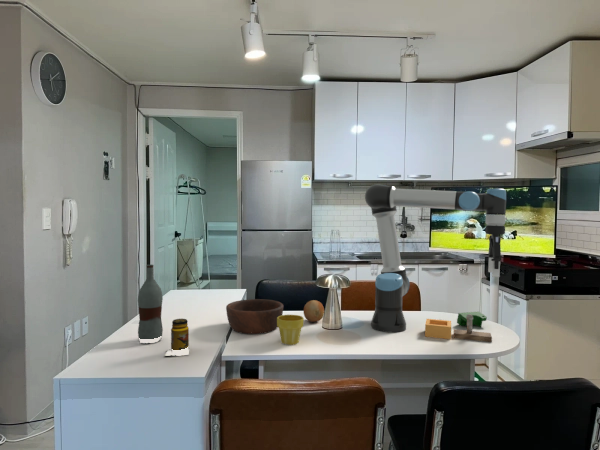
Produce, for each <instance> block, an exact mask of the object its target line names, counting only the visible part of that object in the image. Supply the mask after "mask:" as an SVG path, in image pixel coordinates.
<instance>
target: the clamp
mask: <svg viewBox="0 0 600 450" xmlns="http://www.w3.org/2000/svg"><path fill="white" fill-rule="evenodd" d="M468 314H471V315H472V316H473V320H472V326H477V327H479V328H482V325H483V322H486V321H487V315H485V314H483V313H482V312H480V311H470V312H469V311H468V312H458V315H457V318H456V323H457V324H458V325H459V326H460V327H465V326H466V327H467V318H466V316H467V315H468Z"/></svg>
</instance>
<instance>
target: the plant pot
mask: <svg viewBox="0 0 600 450" xmlns="http://www.w3.org/2000/svg"><path fill="white" fill-rule="evenodd" d="M304 318H305V317H304V316H302V315H298V314H282V315H281V316H278V317H277V327H278V331H279V335H280V341H281V344H283V345H288V346H294V345H298V343H299V341H300V338H301V334H302V333H301V332H302V329H303V327H304V320H305V319H304ZM293 344H294V345H293Z"/></svg>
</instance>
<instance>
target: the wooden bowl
mask: <svg viewBox="0 0 600 450" xmlns="http://www.w3.org/2000/svg"><path fill="white" fill-rule="evenodd" d="M225 309H226V310H225V311H226V316H227V320H228V324H229V326H230V328H231V329H232V330H233V331H234V332H236V333H239V334H247V335H258V334H261V335H262V334H267V333H270V332H273V331H275V330H277V329H279V327H277V317H278V316H281V315H284V314H283V313H284V303H282V302H280V301H278V300H273V299H260V298H253V299H250V298H249V299H241V300H236V301H231V302H230V303H228V304H227V305H226V307H225Z"/></svg>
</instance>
